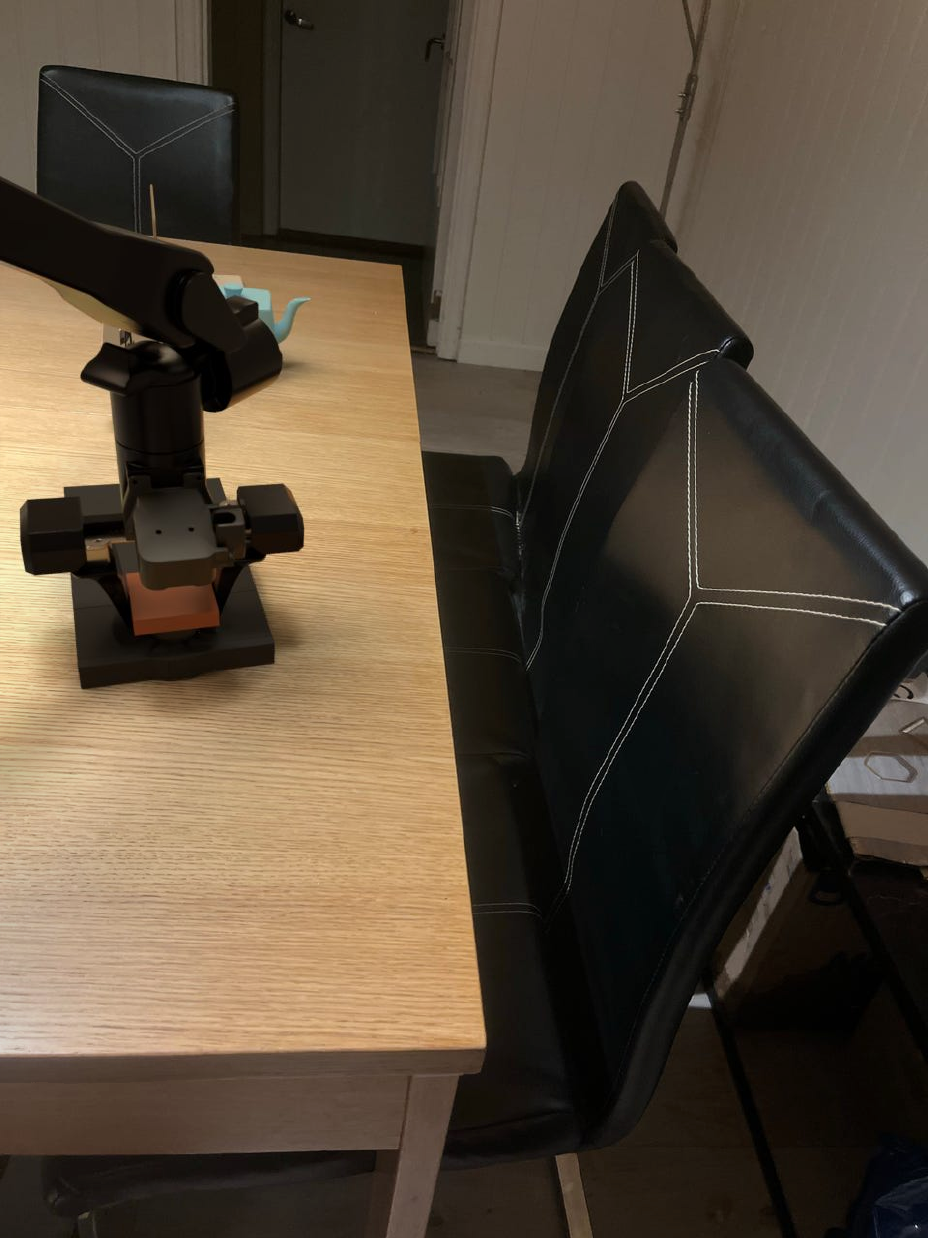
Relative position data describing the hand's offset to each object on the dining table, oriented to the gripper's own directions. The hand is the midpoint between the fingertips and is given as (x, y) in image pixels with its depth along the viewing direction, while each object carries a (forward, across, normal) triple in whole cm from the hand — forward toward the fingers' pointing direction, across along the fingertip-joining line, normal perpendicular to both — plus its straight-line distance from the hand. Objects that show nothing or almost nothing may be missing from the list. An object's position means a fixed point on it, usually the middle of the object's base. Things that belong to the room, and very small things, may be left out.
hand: (173, 620), depth 70 cm
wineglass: (+2, +1, +37) cm, 37 cm away
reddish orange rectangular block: (+1, 0, 0) cm, 1 cm away
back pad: (+2, 0, +9) cm, 9 cm away
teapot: (+2, +14, +54) cm, 56 cm away
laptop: (+2, +14, +78) cm, 79 cm away
